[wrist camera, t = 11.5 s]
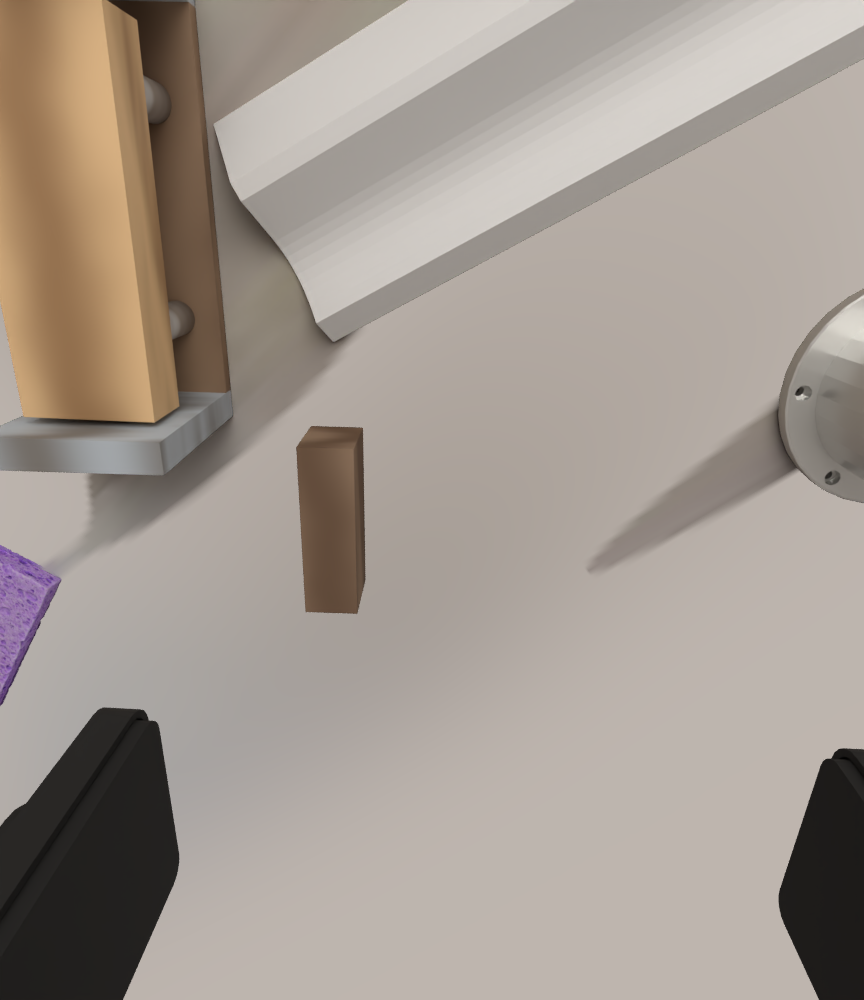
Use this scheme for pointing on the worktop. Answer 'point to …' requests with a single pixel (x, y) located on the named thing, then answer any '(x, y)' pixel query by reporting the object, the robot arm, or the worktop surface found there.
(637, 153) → the crown molding
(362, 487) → the block
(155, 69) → the peg frame
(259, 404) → the worktop surface
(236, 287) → the worktop surface
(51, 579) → the sponges
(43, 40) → the shelf board
